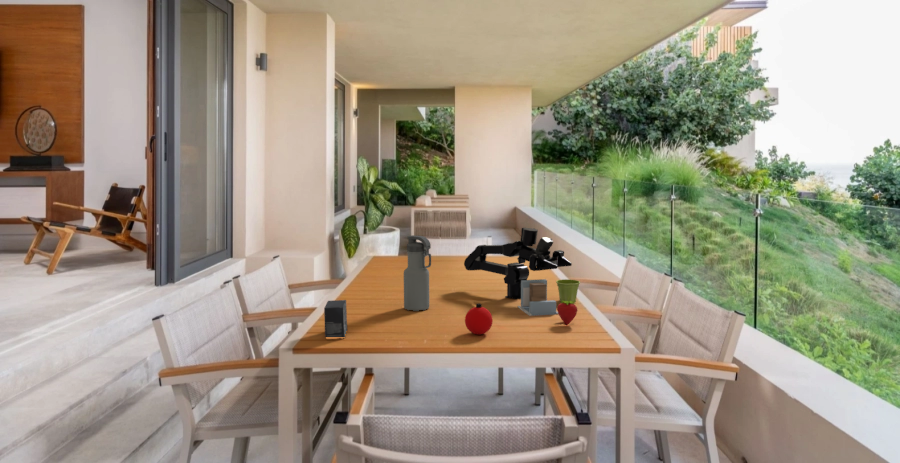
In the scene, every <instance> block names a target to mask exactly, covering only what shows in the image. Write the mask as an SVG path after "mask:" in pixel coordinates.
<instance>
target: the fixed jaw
mask: <svg viewBox="0 0 900 463" xmlns="http://www.w3.org/2000/svg"><path fill="white" fill-rule="evenodd" d="M556 311H557V301H556V300H554V299H553V300H552V299H551V300H547V301H531V302H529V313H531V314H532V315H536V316H541V315H540V314H554V315H557V314H556Z"/></svg>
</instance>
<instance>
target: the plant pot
mask: <svg viewBox="0 0 900 463" xmlns="http://www.w3.org/2000/svg"><path fill="white" fill-rule="evenodd" d="M555 282H556V284H557V285H556V286H557V289H558V296H559V302H562V301H568V299H569V301H574V303H576V301H577V296H578V290H579V287H580V283H581V281H580V280H577V279H568V278H567V279H566V278H565V279H558V280H555Z"/></svg>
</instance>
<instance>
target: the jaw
mask: <svg viewBox="0 0 900 463" xmlns="http://www.w3.org/2000/svg"><path fill="white" fill-rule="evenodd" d="M530 283H544V284H546V301H548V280H547V279H546V278H545V279H527V280H521V299H520V306H521V307H529V302H530Z"/></svg>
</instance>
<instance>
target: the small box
mask: <svg viewBox="0 0 900 463" xmlns="http://www.w3.org/2000/svg"><path fill="white" fill-rule="evenodd" d="M323 313H324V314H323V315H324V318H323V319H324V337H345V338H346V336H345V334H346V335H347V333H346V331H347V332H348V316H347V313H348V312H347V300H346V299H342V300H341V299H336V300H327V301H326V304H325V306H324V309H323Z"/></svg>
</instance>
